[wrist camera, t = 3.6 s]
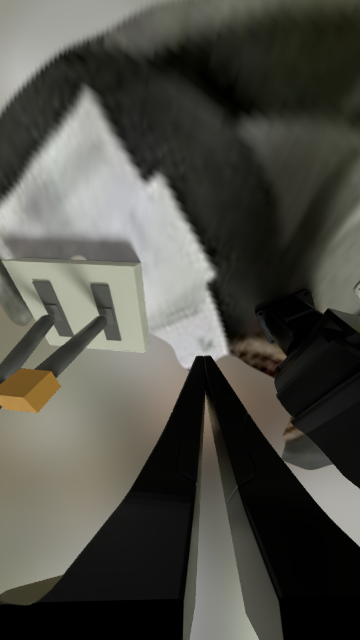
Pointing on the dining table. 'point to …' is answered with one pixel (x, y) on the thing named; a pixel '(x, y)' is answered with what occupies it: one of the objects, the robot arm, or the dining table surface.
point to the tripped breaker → (46, 372)
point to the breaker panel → (78, 304)
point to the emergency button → (357, 291)
